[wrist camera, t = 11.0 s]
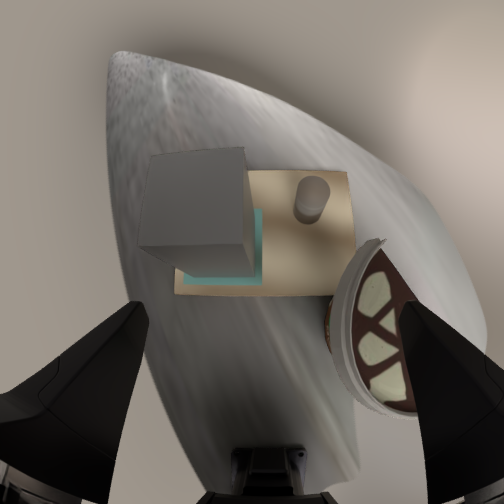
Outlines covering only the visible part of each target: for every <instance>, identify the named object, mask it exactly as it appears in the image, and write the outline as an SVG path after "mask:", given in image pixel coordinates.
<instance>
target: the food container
mask: <svg viewBox="0 0 504 504" xmlns="http://www.w3.org/2000/svg"><path fill="white" fill-rule="evenodd" d="M386 240H387V239H384V240H382V241H380V239H379V238H377V239H373V240H369V241H367V242H366V243H365V244H364V245H363V246H362V247H361V248H360V249H359V250H358V251H357V252H356V253H355V255H354V256H353V258H352V259H351V260H350V262H349V263H348V265H347V267H346V269H345V271H344V272H343V274H342V276H341V278H340V281H339V284H338V286H337V289H336V292H335V295H334V296H333V298H332V300H331V301H330V303H329V306H328V310H327V314H326V318H325V339H326V342H327V345H328V348H329V350H330V353H331V354H332V356H333V360H334V364H335V367H336V369H337V372H338V374H339V377H340V379H341V380H342V382H343V384H344V385H345V387H346V388H347V390H348V391H349V392H350V393H351V395H352V396H353V397H354V398H355V399H356V400H357V401H358V402H360V403H361V404H362V405H364V406H365V407H367V408H368V409H370V410H372V411H375V412H377V413H379V414H382V415H387V416H391V417H395V418H400V419H418V414H417V409H416V404H415V400H414V395H413V391H412V387H411V382H410V378H409V374H408V370H407V367H406V362H405V358H404V352H403V346H402V340H401V335H400V330H399V325H398V319H399V316H400V313H401V311H402V308H403V306H404V303H405V302H406V301H408V300H417V301H419V300H418V299H417V297H416V296H415V295H414V293H413V292H412V291H411V289H410V288H409V287H408V285H407V284H406V282H405V281H404V279H403V278H402V277H401V275H400V274H399V272H398V271H397V269H396V268H395V267H394V265H393V264H392V263H391V261H390V260H389V258H388V257H387V256H386V254H385V253H384V252H383V250H382V249H381V248H380V247H381V246H382V245H383V243H384V242H385V241H386ZM379 248H380V249H379ZM378 249H379V250H378ZM377 250H378V251H377ZM376 251H377V252H376Z"/></svg>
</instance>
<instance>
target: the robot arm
mask: <svg viewBox="0 0 504 504" xmlns="http://www.w3.org/2000/svg"><path fill="white" fill-rule="evenodd" d="M398 325H399V330H400V335H401V340H402V346H403V352H404V358H405V362H406V367H407V370H408V374H409V378H410V382H411V387H412V391H413V395H414V400H415V404H416V409H417V414H418V420H419V425H420V431H421V437H422V444H423V450H424V459H425V469H426V479H427V492H428V504H442V503H445V502H449V501H451V500H455V499H457V498H460V497H463V496H464V500H462V501H461V502H459V503H457V504H504V370H503V369H502V368H500V367H499V366H498V365H497V364H496V363H494V362H493V361H492V360H491V359H490V358H489V357H487V356H486V355H484V353H483V352H482V351H480V350H479V349H478V348H477V347H476V346H474V345H473V344H472V343H471V342H470V341H468V340H467V339H466V338H465V337H463V336H462V335H461V334H460V333H459V332H457V331H456V330H455V329H454V328H452V327H451V326H450V325H449V324H447V323H446V322H445V321H443V320H442V319H441V318H440V317H438V316H437V315H436V314H434V313H433V312H432V311H431V310H429V309H428V308H427V307H425V306H424V305H423V304H421V303H420V302H419V301H417V300H408V301H406V302H405V303H404V306H403V308H402V311H401V313H400V316H399V319H398ZM148 327H149V318H148V315H147V313H146V310H145V307H144V305H143V303H142V302H140V301H130V302H129V303H127V304H126V305H125V306H123V307H122V308H121V309H119V310H118V311H117V312H115V313H114V314H113V315H111V316H110V317H109V318H107V319H106V320H105V321H103V322H102V323H101V324H99V325H98V326H97V327H95V328H94V329H93V330H91V331H90V332H89V333H88V334H86V335H85V336H84V337H82V338H81V339H80V340H78V341H77V342H76V343H75V344H73V345H72V346H71V347H69V348H68V349H67V350H66V351H64V352H63V353H62V354H61V355H60V356H58V357H57V358H55V359H54V360H53V361H52V362H50V363H49V364H48V365H46V366H45V367H44V368H42V369H41V370H40V371H38V372H37V373H35V374H34V375H32V376H31V377H30V378H28V379H27V380H25V381H24V382H22V383H21V384H19V385H18V386H16V387H15V388H13V389H12V390H10V391H8V392H6V393H3V394H0V504H81V502H82V499H84V500H87V501H90V502H93V503H97V504H108V499H109V493H110V487H111V482H112V476H113V472H114V467H115V460H116V456H117V452H118V447H119V443H120V438H121V434H122V430H123V426H124V422H125V418H126V414H127V410H128V407H129V403H130V399H131V396H132V392H133V389H134V385H135V382H136V378H137V375H138V372H139V368H140V365H141V361H142V357H143V352H144V347H145V342H146V337H147V332H148ZM235 452H239V453H240V454H238V455H237V454H235ZM301 452H303V454H302V455H299V453H301ZM306 459H307V452H306V450H305V449H303V448H296V449H285V448H254V449H247V448H235V449H233V450H232V453H231V465H232V493H231V495H229V494H219V493H215V492H210V491H207V492H206V494H205V495H204V496H203V497H202V498H201V499H200V500H199V501H198V502H197V503H196V504H338V503H337V502H336V501H335V500H334V498H333V497H332V496H331V495H330V493H329V492H321V493H320V494H310V495H304V492H303V486H304V478H305V469H306Z"/></svg>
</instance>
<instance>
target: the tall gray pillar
mask: <svg viewBox="0 0 504 504" xmlns="http://www.w3.org/2000/svg"><path fill="white" fill-rule="evenodd" d="M137 247H139V248H141V249H143V250H144V251H146V252H148V253H150V254H151V255H153V256H155V257H157V258H159V259H160V260H162V261H164V262H166V263H168V264H169V265H171V266H173V267H175V268H177V269H179V270H180V271H182V272H184V273H186V274H188V275H190V276H192V277H194V278H234V277H255V214H254V207H253V201H252V195H251V188H250V182H249V176H248V170H247V164H246V157H245V151H244V147H235V148H219V149H207V150H196V151H186V152H177V153H169V154H161V155H154V156H151V158H150V163H149V168H148V173H147V179H146V185H145V191H144V197H143V203H142V210H141V217H140V225H139V233H138V243H137Z"/></svg>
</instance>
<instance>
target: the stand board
mask: <svg viewBox="0 0 504 504" xmlns="http://www.w3.org/2000/svg"><path fill="white" fill-rule="evenodd" d="M248 176H249V182H250V188H251V195H252V201H253V207H254V214H255V277H234V278H194V277H192V276H190V275H188V274H186V273H184V272H182V271H180V270H179V269H177V268H175V286H174V294H177V295H202V296H327V295H335V292H336V289H337V286H338V284H339V281H340V278H341V276H342V274H343V272H344V271H345V269H346V267H347V265H348V263H349V262H350V260H351V259H352V258H353V256H354V255H355V253H356V245H355V234H354V224H353V215H352V207H351V199H350V191H349V185H348V178H347V172H338V171H308V170H256V171H248Z"/></svg>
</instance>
